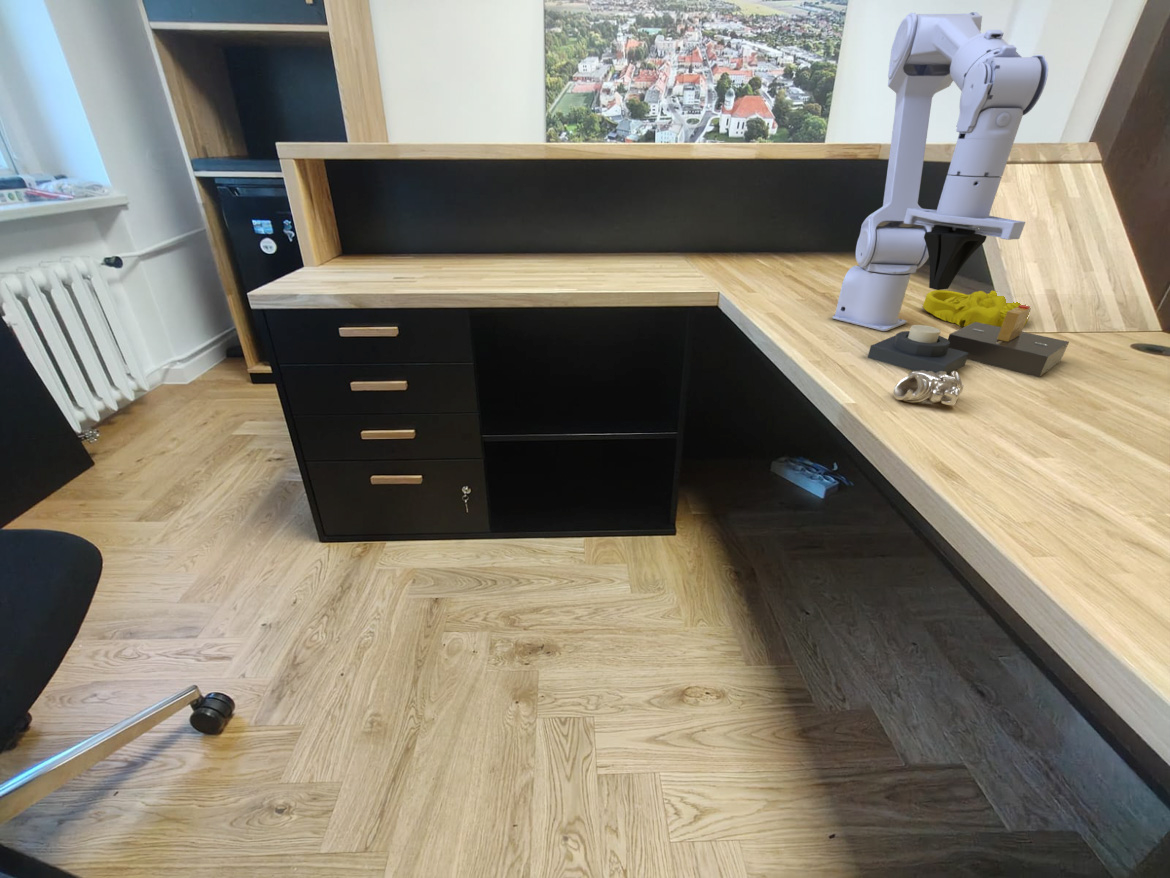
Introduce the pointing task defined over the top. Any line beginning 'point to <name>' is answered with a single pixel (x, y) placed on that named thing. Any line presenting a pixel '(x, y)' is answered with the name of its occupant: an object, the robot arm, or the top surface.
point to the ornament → (929, 387)
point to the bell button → (924, 334)
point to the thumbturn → (1014, 323)
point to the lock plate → (1008, 349)
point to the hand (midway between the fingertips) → (938, 288)
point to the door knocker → (968, 307)
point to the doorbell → (918, 354)
